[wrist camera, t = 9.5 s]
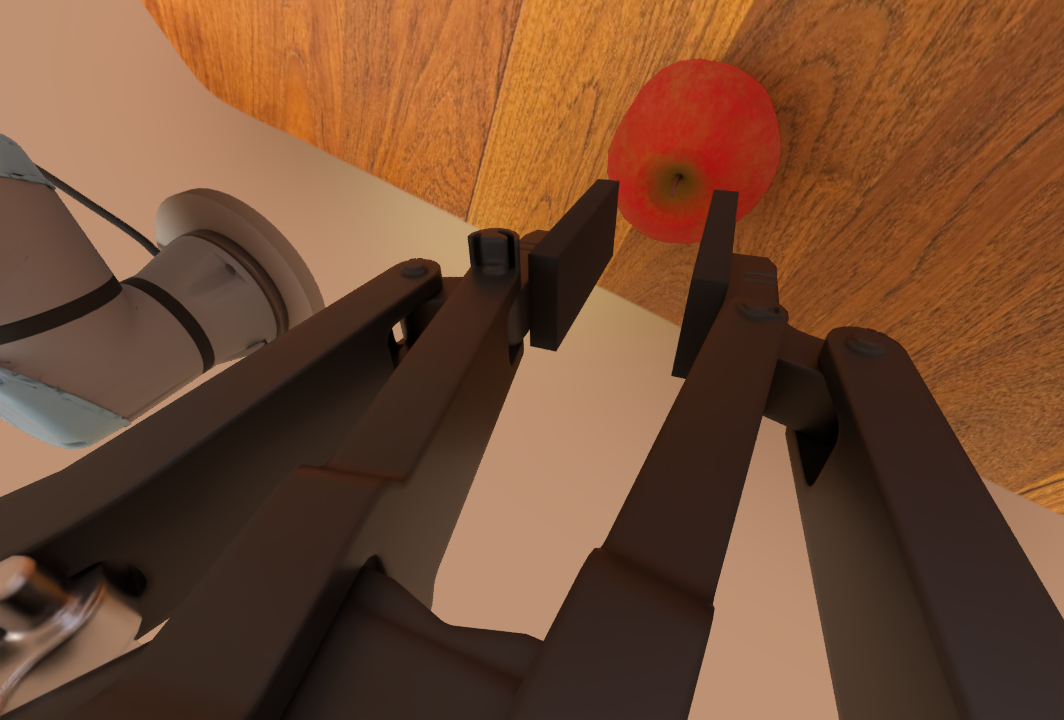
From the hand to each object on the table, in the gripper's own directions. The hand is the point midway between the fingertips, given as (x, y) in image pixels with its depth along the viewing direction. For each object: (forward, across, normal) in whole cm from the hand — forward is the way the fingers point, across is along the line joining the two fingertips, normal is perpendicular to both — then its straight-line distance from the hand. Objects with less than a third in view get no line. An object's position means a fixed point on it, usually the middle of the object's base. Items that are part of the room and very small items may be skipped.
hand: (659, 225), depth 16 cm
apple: (+15, 0, 0) cm, 15 cm away
